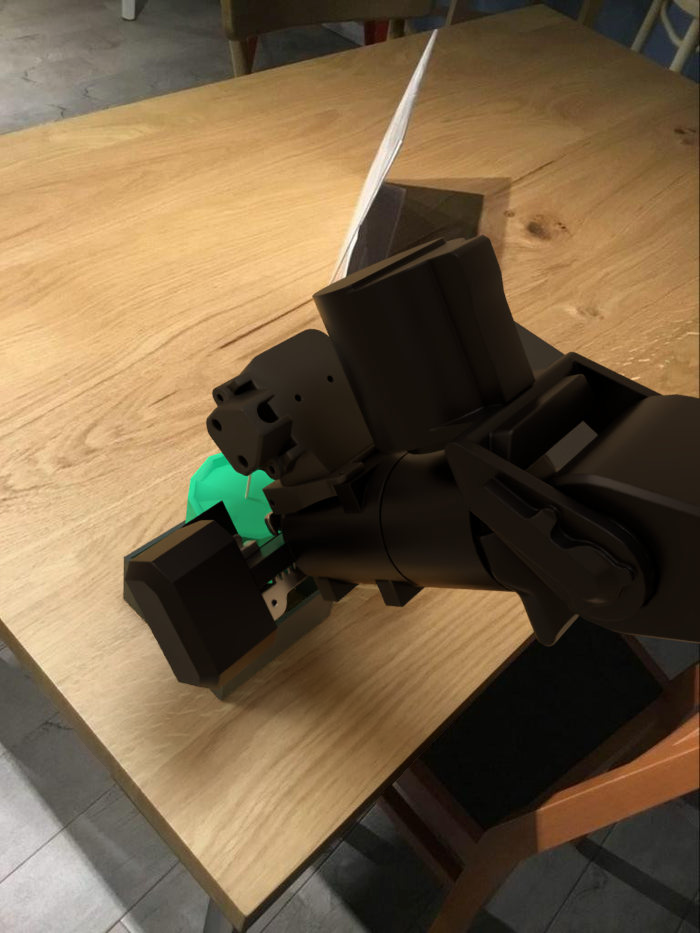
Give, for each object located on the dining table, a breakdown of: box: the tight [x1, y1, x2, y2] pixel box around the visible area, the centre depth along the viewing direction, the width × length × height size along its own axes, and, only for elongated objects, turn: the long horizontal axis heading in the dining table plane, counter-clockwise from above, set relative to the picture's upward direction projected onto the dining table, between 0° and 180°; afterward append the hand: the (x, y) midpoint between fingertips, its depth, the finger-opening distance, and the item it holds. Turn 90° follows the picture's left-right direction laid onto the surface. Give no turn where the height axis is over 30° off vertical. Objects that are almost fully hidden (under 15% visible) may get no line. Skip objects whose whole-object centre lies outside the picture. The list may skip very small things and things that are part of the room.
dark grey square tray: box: [122, 519, 335, 702], centre depth 50 cm, size 9×9×4 cm
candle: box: [185, 451, 281, 621], centre depth 47 cm, size 6×6×12 cm
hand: (222, 522), depth 47 cm, fingers closed on candle, 5 cm apart
